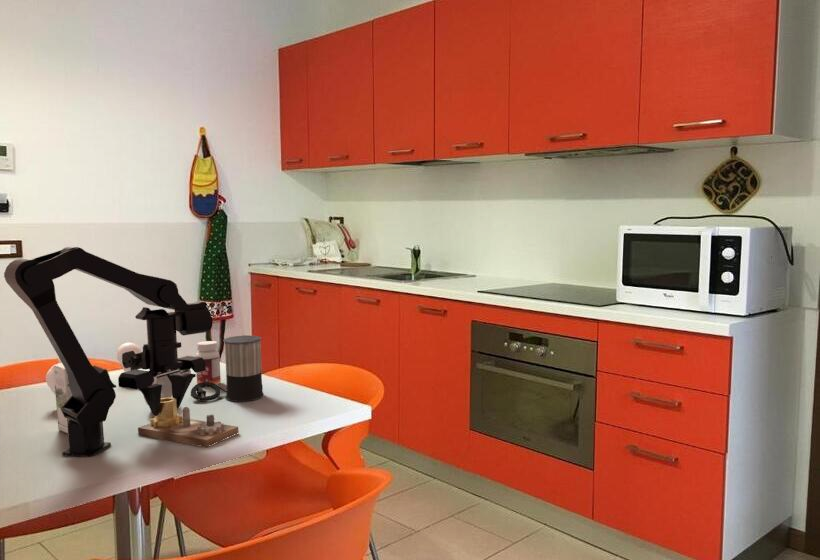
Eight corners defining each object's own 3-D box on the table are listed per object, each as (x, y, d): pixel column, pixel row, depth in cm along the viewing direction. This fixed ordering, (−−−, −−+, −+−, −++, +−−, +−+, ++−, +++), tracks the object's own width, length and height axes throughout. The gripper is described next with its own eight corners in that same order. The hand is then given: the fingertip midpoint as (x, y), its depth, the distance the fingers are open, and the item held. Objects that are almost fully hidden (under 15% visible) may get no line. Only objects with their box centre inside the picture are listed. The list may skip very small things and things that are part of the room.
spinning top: (48, 405, 166) (44, 356, 165) (82, 400, 169) (79, 352, 168) (47, 412, 159) (44, 362, 158) (84, 408, 163) (80, 358, 162)
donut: (154, 414, 156) (152, 371, 155) (141, 414, 157) (138, 371, 156) (178, 402, 166) (175, 362, 165) (165, 402, 166) (162, 361, 165)
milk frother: (271, 397, 169) (268, 338, 168) (211, 410, 159) (208, 347, 157) (242, 387, 180) (240, 331, 178) (185, 399, 169) (182, 340, 168)
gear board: (238, 433, 141) (237, 406, 140) (207, 447, 133) (205, 418, 133) (171, 422, 150) (170, 397, 149) (138, 434, 142) (136, 407, 141)
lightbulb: (119, 380, 190) (116, 341, 189) (143, 378, 192) (141, 339, 190) (116, 385, 184) (114, 345, 183) (142, 383, 186) (139, 343, 184)
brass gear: (173, 427, 141) (172, 404, 140) (145, 427, 141) (144, 403, 141) (187, 419, 147) (185, 396, 146) (160, 419, 147) (158, 396, 147)
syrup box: (96, 429, 146) (92, 362, 145) (68, 436, 142) (63, 367, 140) (84, 424, 150) (80, 359, 148) (56, 431, 145) (51, 364, 144)
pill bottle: (192, 386, 182) (190, 344, 181) (206, 380, 188) (204, 340, 186) (211, 387, 180) (209, 345, 179) (225, 382, 185) (223, 341, 184)
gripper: (168, 329, 154) (172, 397, 156) (97, 344, 138) (102, 419, 139) (205, 332, 149) (209, 402, 151) (136, 348, 133) (140, 426, 134)
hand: (166, 411), depth 144 cm, fingers open, 5 cm apart
